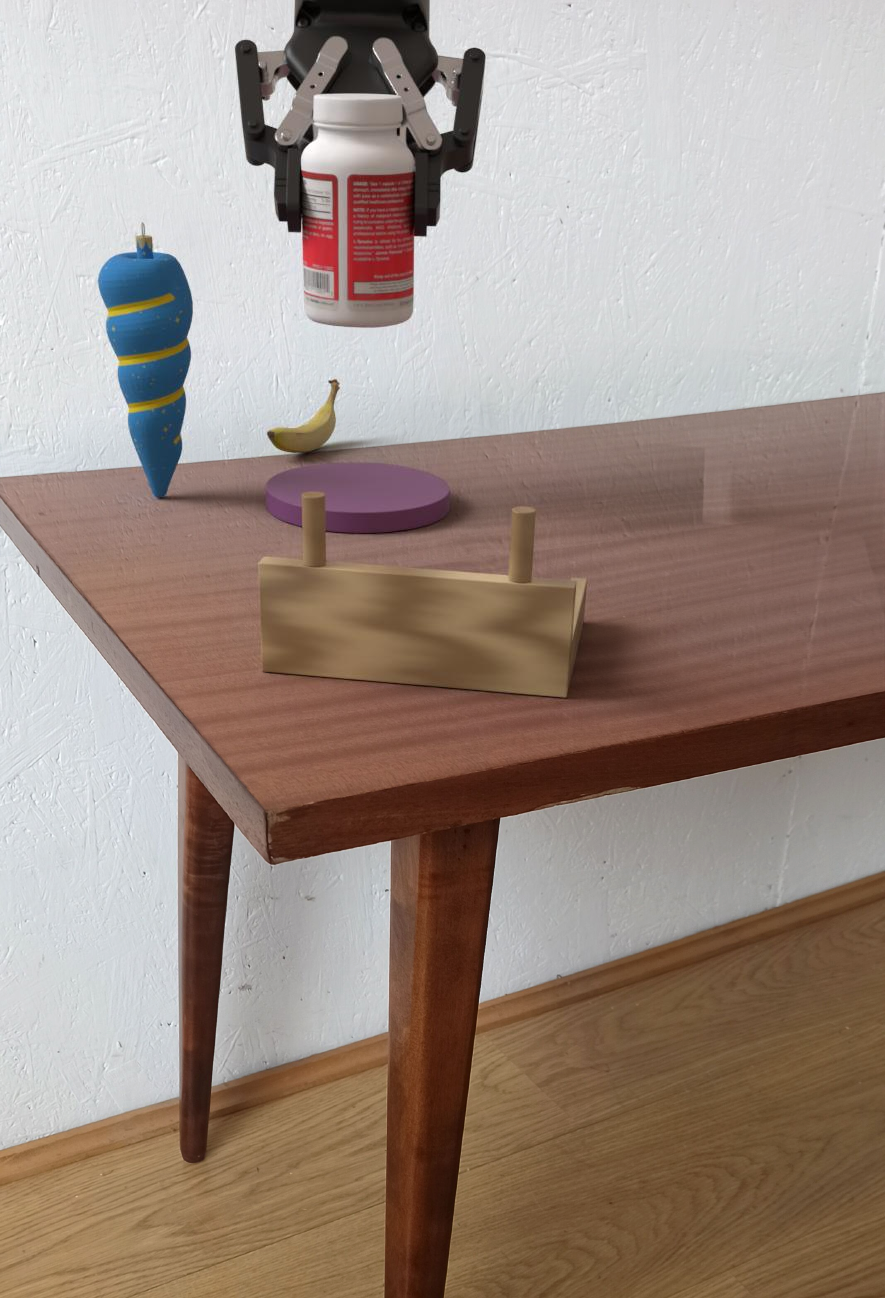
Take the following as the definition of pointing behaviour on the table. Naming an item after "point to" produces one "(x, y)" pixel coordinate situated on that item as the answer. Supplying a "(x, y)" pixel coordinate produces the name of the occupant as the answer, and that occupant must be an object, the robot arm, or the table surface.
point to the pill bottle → (358, 213)
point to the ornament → (150, 351)
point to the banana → (308, 429)
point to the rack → (420, 618)
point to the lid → (361, 496)
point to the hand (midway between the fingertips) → (357, 223)
